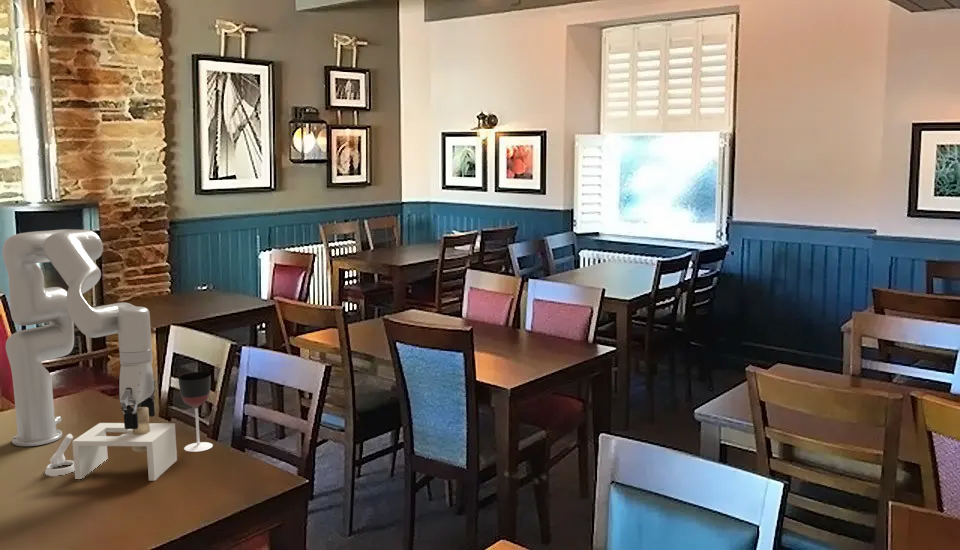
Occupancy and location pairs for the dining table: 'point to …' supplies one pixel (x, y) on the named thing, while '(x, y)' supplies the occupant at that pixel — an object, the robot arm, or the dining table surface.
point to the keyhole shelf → (94, 445)
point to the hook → (60, 460)
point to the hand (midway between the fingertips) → (140, 422)
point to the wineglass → (195, 400)
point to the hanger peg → (141, 426)
